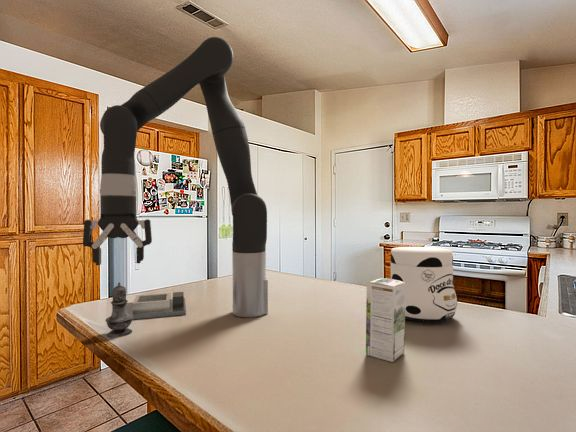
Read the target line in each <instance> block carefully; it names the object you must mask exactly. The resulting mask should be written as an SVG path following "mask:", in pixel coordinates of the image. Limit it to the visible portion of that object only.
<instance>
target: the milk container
mask: <svg viewBox="0 0 576 432" xmlns="http://www.w3.org/2000/svg"><path fill="white" fill-rule="evenodd" d="M453 256H454V254H453V251H452V249H448V248H443V247H431V246H428V247H427V246H399V247H398V246H397V247H393V248H391V250H390V265H389V267H390V279H394V280H399V281H402V282H405V320H409V321H410V320H411V321H415V322H423V323H437V322H438V323H439V322H445V321H447V320H450V319H452V318H454V316H455V314H456V312H457V306H458V298H457V294H456V290H455V286H454V265H453V264H454V257H453Z"/></svg>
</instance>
